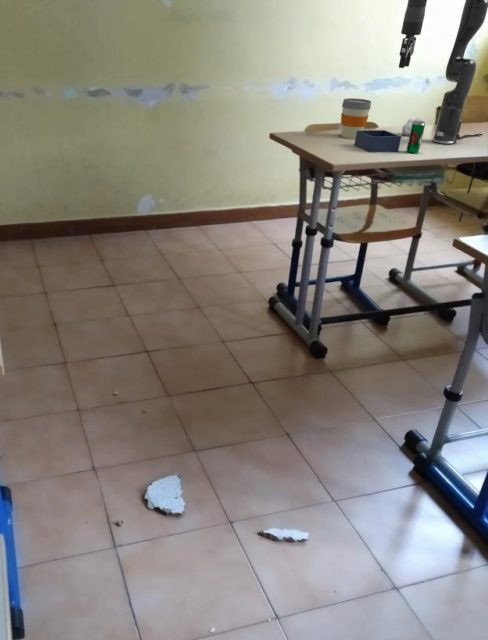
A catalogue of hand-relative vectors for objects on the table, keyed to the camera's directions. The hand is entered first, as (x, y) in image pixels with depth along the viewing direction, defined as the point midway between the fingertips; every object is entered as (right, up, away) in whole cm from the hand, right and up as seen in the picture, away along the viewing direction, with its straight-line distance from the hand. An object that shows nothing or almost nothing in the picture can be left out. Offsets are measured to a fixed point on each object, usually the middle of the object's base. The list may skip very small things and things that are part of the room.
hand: (403, 67), depth 248 cm
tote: (-8, -29, +10) cm, 32 cm away
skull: (+17, -11, +38) cm, 43 cm away
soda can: (+6, -33, +6) cm, 34 cm away
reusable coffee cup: (-14, -16, +30) cm, 36 cm away
